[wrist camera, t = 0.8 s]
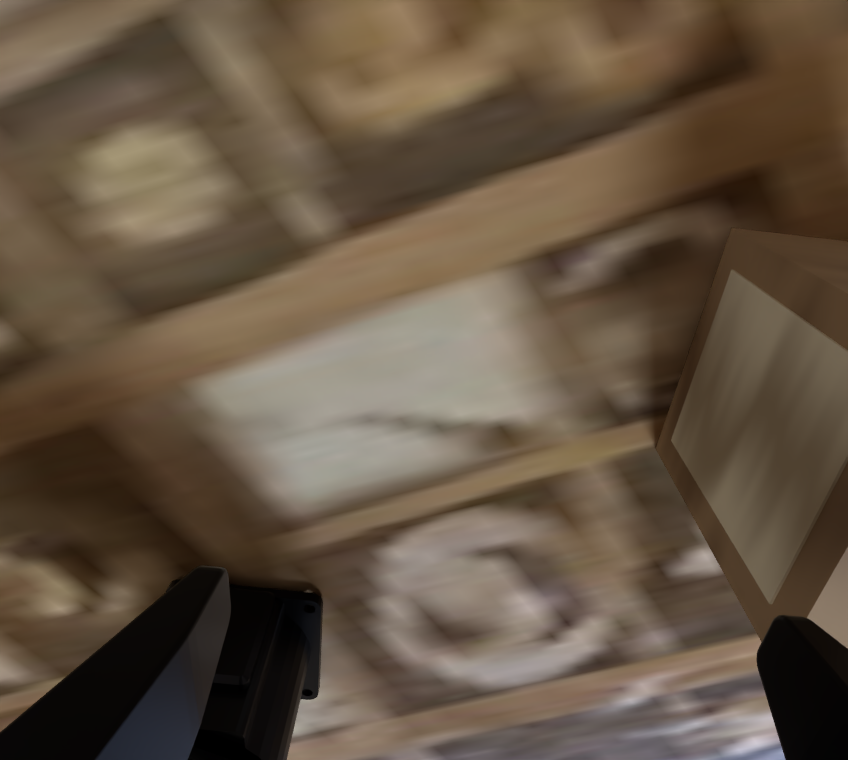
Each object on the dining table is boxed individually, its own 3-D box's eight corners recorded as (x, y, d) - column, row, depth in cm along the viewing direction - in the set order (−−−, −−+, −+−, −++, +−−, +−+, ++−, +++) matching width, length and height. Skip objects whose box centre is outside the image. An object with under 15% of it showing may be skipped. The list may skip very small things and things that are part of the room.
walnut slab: (764, 459, 22) (947, 687, 14) (653, 448, 22) (773, 669, 14) (861, 242, 18) (1189, 381, 10) (728, 227, 18) (953, 354, 10)
